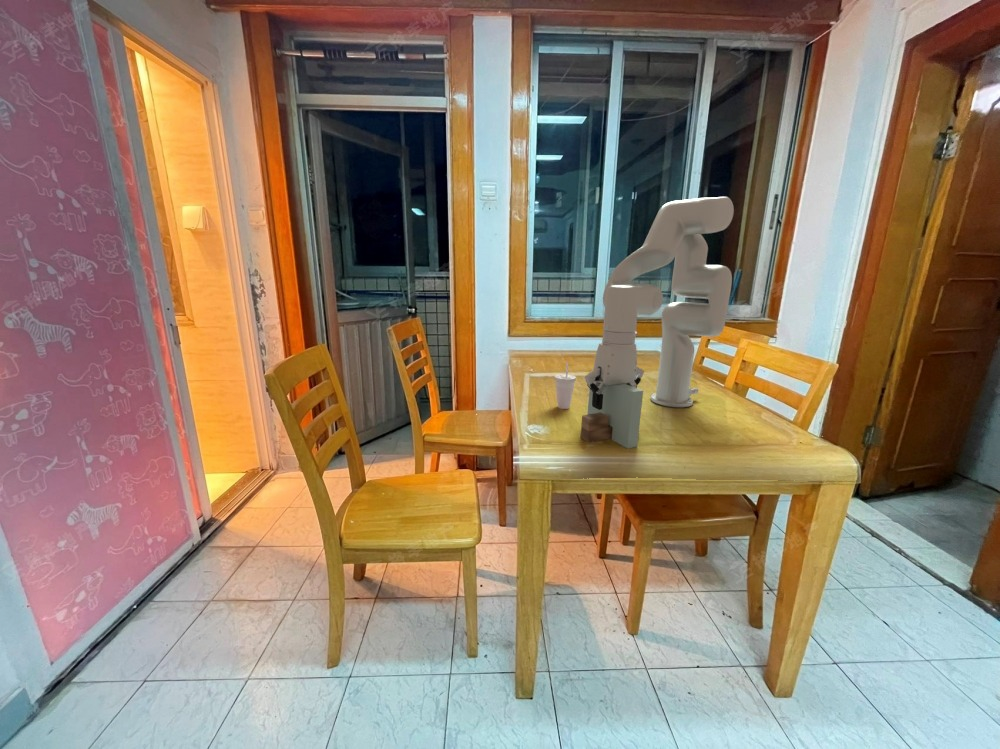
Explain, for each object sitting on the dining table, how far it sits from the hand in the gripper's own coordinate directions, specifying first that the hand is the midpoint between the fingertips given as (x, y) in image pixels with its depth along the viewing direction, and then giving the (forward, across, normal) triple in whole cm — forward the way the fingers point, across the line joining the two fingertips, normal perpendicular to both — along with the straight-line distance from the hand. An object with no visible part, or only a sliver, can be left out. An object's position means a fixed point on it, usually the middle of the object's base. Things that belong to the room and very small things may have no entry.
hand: (612, 405), depth 101 cm
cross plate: (+8, 0, 0) cm, 8 cm away
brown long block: (+8, 0, 0) cm, 8 cm away
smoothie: (+8, -1, -23) cm, 24 cm away
